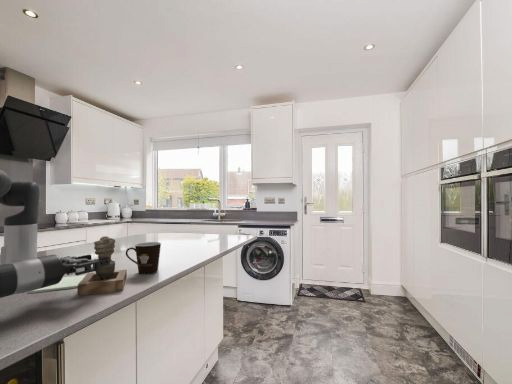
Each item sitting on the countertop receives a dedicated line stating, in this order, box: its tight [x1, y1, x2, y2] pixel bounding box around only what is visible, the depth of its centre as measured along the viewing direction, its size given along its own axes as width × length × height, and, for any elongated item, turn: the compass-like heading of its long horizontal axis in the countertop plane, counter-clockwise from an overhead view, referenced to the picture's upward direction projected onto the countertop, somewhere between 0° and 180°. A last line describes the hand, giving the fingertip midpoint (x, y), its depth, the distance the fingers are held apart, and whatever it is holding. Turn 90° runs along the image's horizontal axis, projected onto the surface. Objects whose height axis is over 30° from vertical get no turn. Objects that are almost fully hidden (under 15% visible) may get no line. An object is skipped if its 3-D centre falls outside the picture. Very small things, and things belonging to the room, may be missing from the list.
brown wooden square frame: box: [77, 269, 128, 297], centre depth 78 cm, size 11×12×3 cm
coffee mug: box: [125, 241, 162, 275], centre depth 94 cm, size 12×9×10 cm
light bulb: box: [93, 235, 116, 280], centre depth 78 cm, size 6×6×15 cm
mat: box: [27, 274, 87, 294], centre depth 80 cm, size 12×12×1 cm
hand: (99, 259), depth 77 cm, fingers open, 8 cm apart
